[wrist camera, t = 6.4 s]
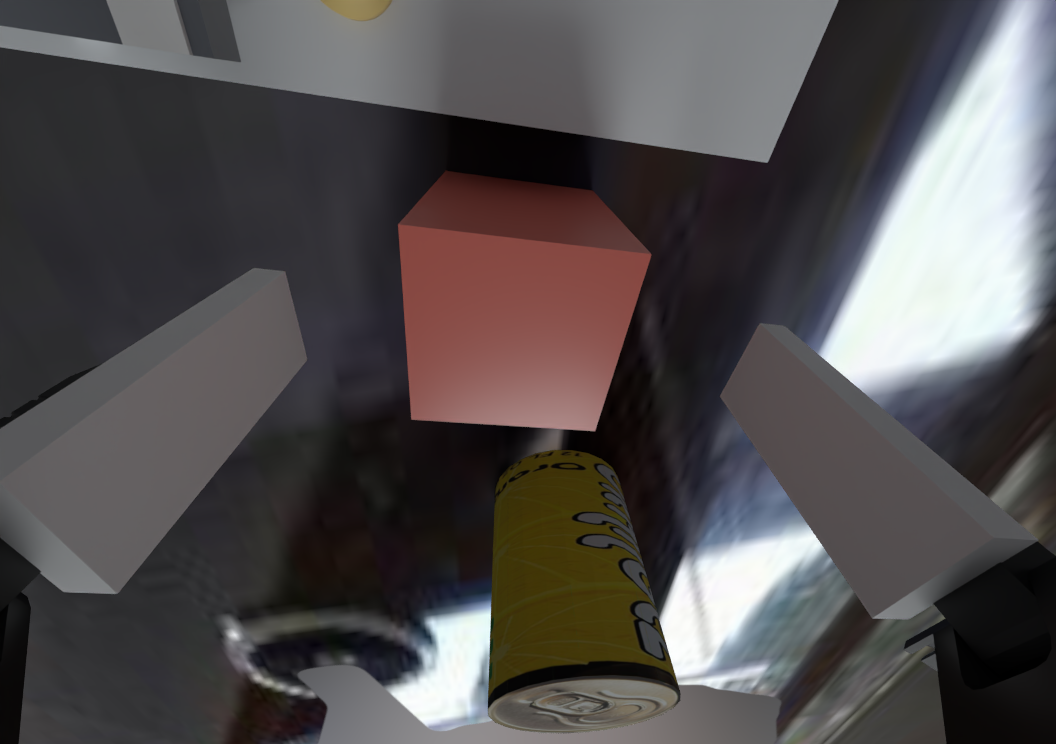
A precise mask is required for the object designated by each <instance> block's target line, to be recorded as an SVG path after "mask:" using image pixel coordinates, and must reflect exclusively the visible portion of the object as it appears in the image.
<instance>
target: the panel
mask: <svg viewBox="0 0 1056 744" xmlns="http://www.w3.org/2000/svg"><path fill="white" fill-rule="evenodd" d="M226 2H227V6H228V10H229V14H230V18H231V22H232V26H233V30H234V35H235V39H236V43H237V47H238V51H239V55H240V59H241V62H235V61H228V60H220V59H213V58H206V57H200V56H193V55H187V54H180V53H174V52H167V51H161V50H154V49H148V48H141V47H135V46H128V45H122V44H116V43H109V42H103V41H96V40H90V39H84V38H77V37H71V36H64V35H58V34H51V33H45V32H38V31H32V30H25V29H19V28H12V27H6V26H0V47H3V48H9V49H16V50H23V51H29V52H36V53H43V54H49V55H56V56H62V57H69V58H76V59H82V60H89V61H96V62H102V63H109V64H116V65H122V66H129V67H135V68H142V69H149V70H155V71H162V72H169V73H175V74H182V75H189V76H195V77H202V78H209V79H215V80H222V81H228V82H235V83H242V84H248V85H255V86H262V87H268V88H275V89H282V90H288V91H295V92H301V93H308V94H315V95H321V96H328V97H335V98H341V99H348V100H355V101H361V102H368V103H374V104H381V105H388V106H394V107H401V108H408V109H414V110H421V111H428V112H434V113H441V114H447V115H454V116H461V117H467V118H474V119H481V120H487V121H494V122H501V123H507V124H514V125H521V126H527V127H534V128H540V129H547V130H554V131H560V132H567V133H574V134H580V135H587V136H594V137H600V138H607V139H613V140H620V141H627V142H633V143H640V144H647V145H653V146H660V147H667V148H673V149H680V150H686V151H693V152H700V153H706V154H713V155H720V156H726V157H733V158H740V159H746V160H753V161H760V162H766V163H768V160H769V158H770V156H771V154H772V151H773V149H774V147H775V144H776V142H777V140H778V137H779V135H780V133H781V131H782V128H783V126H784V124H785V121H786V119H787V117H788V115H789V112H790V110H791V108H792V105H793V103H794V101H795V99H796V96H797V94H798V92H799V89H800V87H801V85H802V83H803V80H804V78H805V76H806V73H807V71H808V69H809V67H810V64H811V62H812V60H813V57H814V55H815V53H816V50H817V48H818V46H819V44H820V41H821V39H822V37H823V34H824V32H825V30H826V28H827V25H828V23H829V21H830V18H831V16H832V14H833V12H834V9H835V7H836V5H837V2H838V0H226Z"/></svg>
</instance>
